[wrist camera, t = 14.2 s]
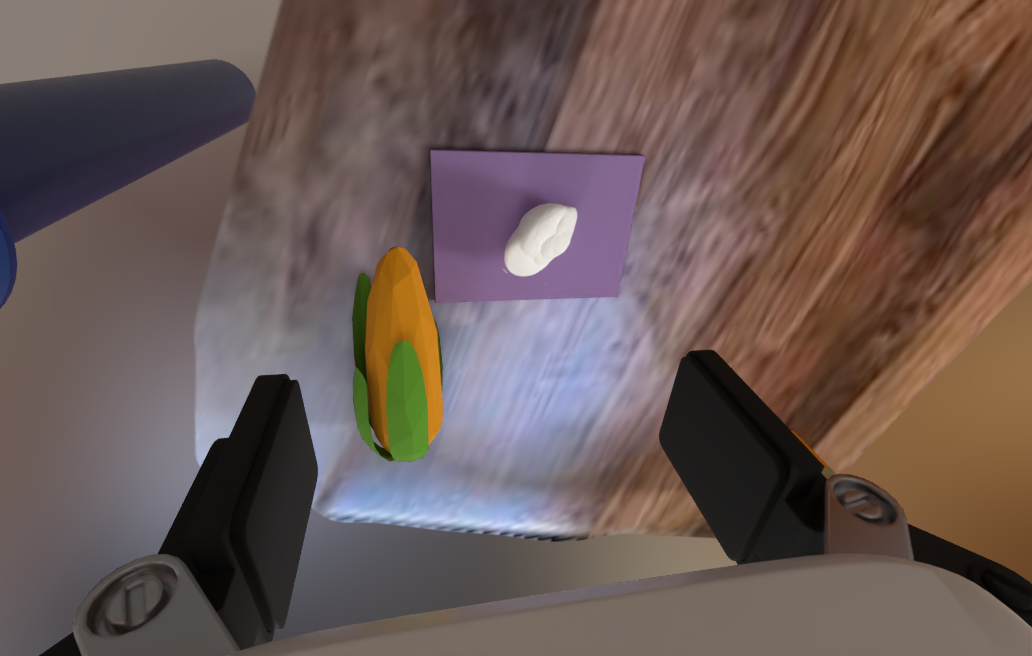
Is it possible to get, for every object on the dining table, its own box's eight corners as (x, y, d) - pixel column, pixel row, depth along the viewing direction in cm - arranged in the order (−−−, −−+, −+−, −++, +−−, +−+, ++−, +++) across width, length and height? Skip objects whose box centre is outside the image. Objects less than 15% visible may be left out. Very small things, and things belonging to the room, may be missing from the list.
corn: (360, 495, 38) (326, 272, 28) (362, 430, 45) (335, 228, 34) (451, 482, 40) (450, 268, 30) (440, 421, 47) (437, 227, 36)
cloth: (435, 300, 39) (435, 302, 39) (430, 149, 33) (430, 150, 32) (616, 294, 42) (617, 296, 42) (643, 154, 36) (645, 155, 35)
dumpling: (537, 175, 35) (564, 188, 32) (574, 217, 38) (602, 233, 35) (476, 246, 36) (497, 267, 33) (518, 282, 39) (541, 303, 36)
